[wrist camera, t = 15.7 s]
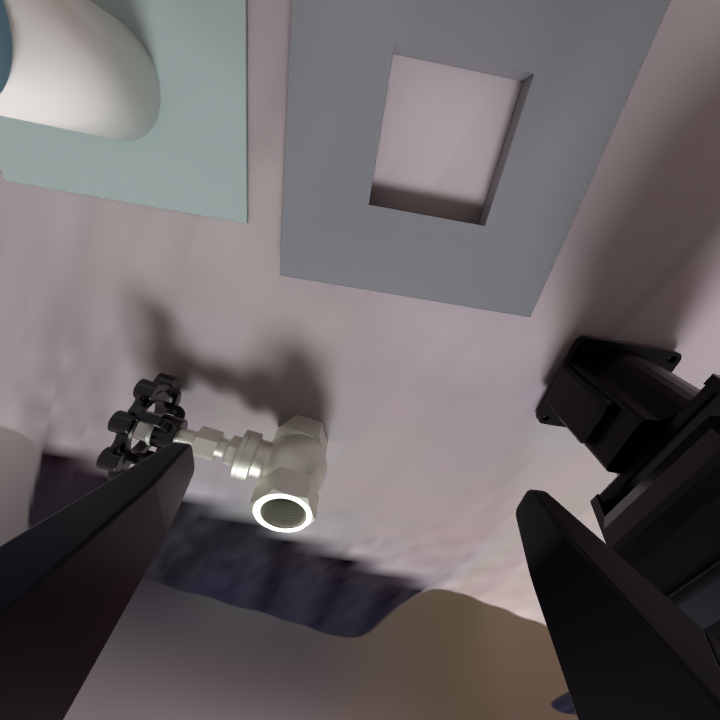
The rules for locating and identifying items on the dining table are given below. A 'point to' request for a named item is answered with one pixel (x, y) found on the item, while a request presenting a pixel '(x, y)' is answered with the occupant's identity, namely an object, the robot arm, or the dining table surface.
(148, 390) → the valve
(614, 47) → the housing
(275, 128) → the dining table surface
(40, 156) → the mat
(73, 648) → the robot arm
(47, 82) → the cartridge
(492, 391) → the dining table surface
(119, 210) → the dining table surface
